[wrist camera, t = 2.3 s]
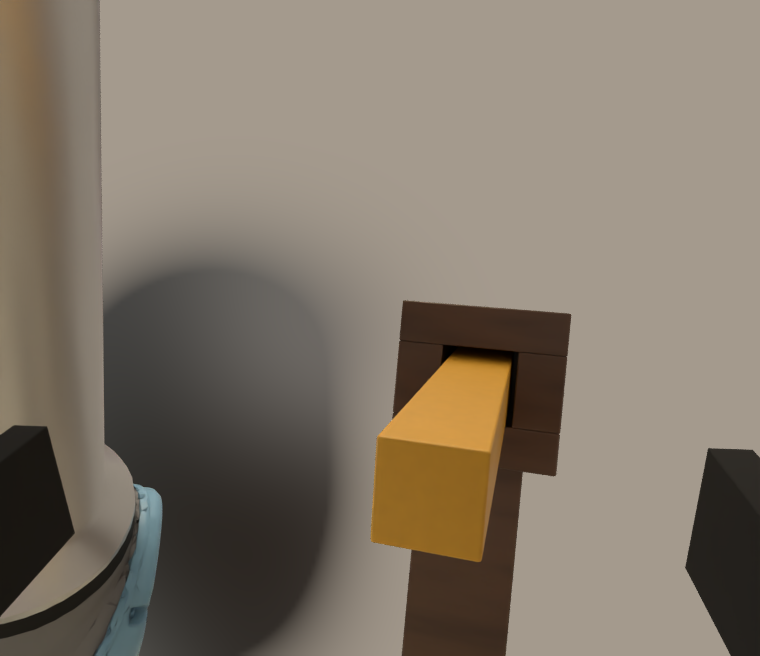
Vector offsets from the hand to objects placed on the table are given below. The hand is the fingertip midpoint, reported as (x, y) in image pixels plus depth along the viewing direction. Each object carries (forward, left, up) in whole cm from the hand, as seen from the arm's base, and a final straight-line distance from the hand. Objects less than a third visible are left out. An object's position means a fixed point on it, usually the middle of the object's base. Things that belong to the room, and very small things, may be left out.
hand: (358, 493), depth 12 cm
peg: (-2, +13, -1) cm, 13 cm away
